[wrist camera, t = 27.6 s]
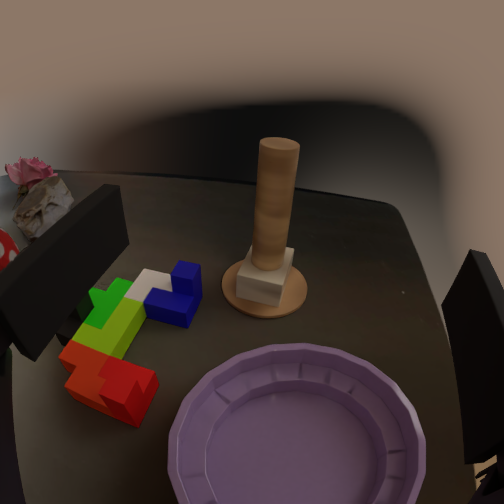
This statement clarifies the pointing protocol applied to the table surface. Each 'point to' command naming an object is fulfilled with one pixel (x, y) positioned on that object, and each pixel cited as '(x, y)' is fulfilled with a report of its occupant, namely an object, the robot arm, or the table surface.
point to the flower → (28, 174)
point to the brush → (270, 224)
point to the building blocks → (123, 338)
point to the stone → (43, 207)
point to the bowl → (296, 432)
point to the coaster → (289, 304)
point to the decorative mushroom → (7, 249)
